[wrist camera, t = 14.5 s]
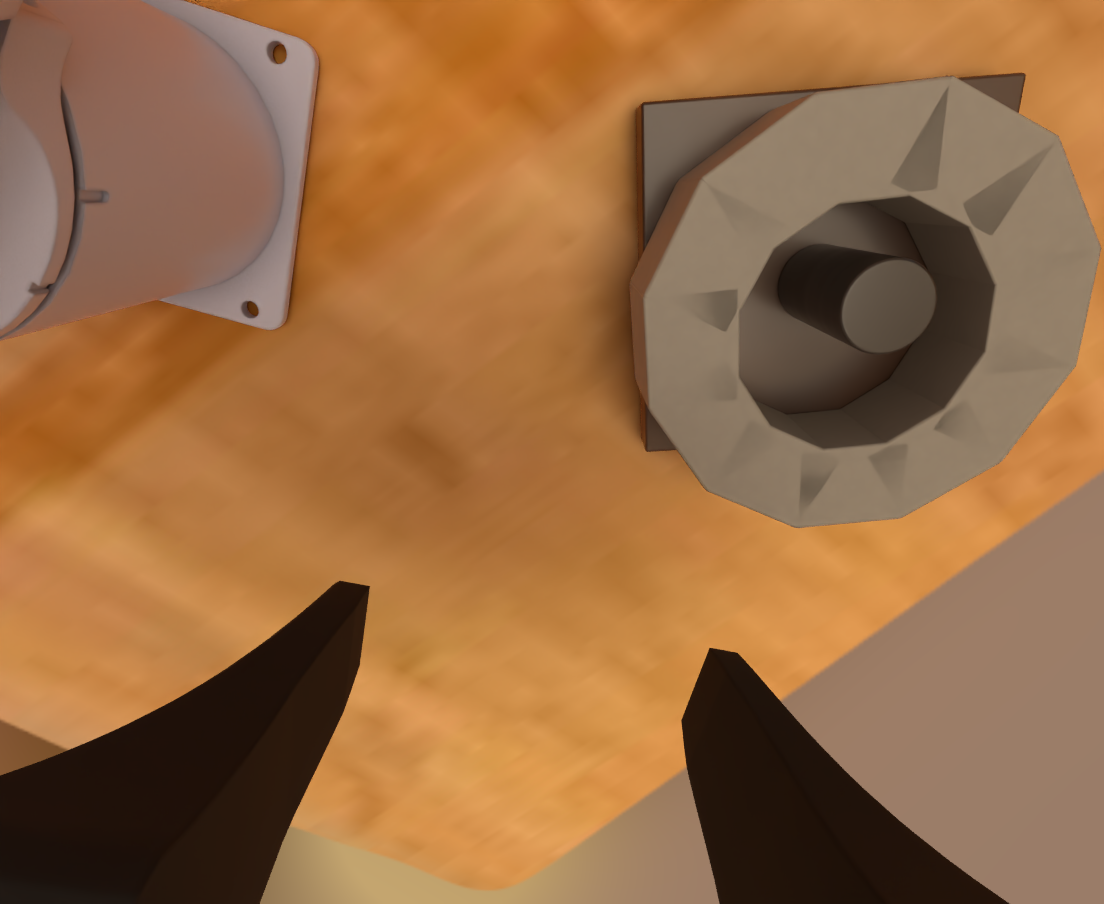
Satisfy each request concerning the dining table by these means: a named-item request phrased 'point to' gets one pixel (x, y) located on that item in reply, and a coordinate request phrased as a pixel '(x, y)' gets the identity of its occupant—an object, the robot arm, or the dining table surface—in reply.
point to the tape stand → (801, 266)
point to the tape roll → (933, 359)
